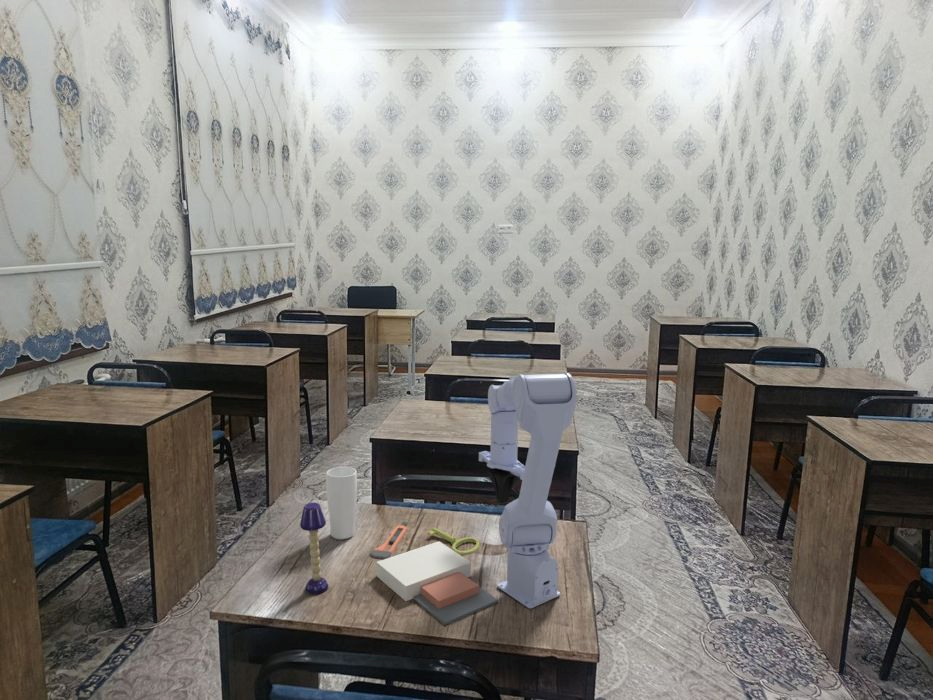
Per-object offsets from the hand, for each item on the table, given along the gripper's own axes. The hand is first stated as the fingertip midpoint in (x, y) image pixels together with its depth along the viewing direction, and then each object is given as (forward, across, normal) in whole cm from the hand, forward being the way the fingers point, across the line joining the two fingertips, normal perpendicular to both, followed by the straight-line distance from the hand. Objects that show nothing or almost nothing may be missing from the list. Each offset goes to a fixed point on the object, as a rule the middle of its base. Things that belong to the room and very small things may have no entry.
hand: (502, 501), depth 134 cm
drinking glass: (+11, -25, -25) cm, 37 cm away
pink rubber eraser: (+10, +9, -20) cm, 24 cm away
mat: (+10, +11, -21) cm, 26 cm away
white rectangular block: (+10, 0, -20) cm, 23 cm away
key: (+11, -7, -7) cm, 15 cm away
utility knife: (+11, -17, -18) cm, 27 cm away
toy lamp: (+11, -8, -40) cm, 42 cm away
